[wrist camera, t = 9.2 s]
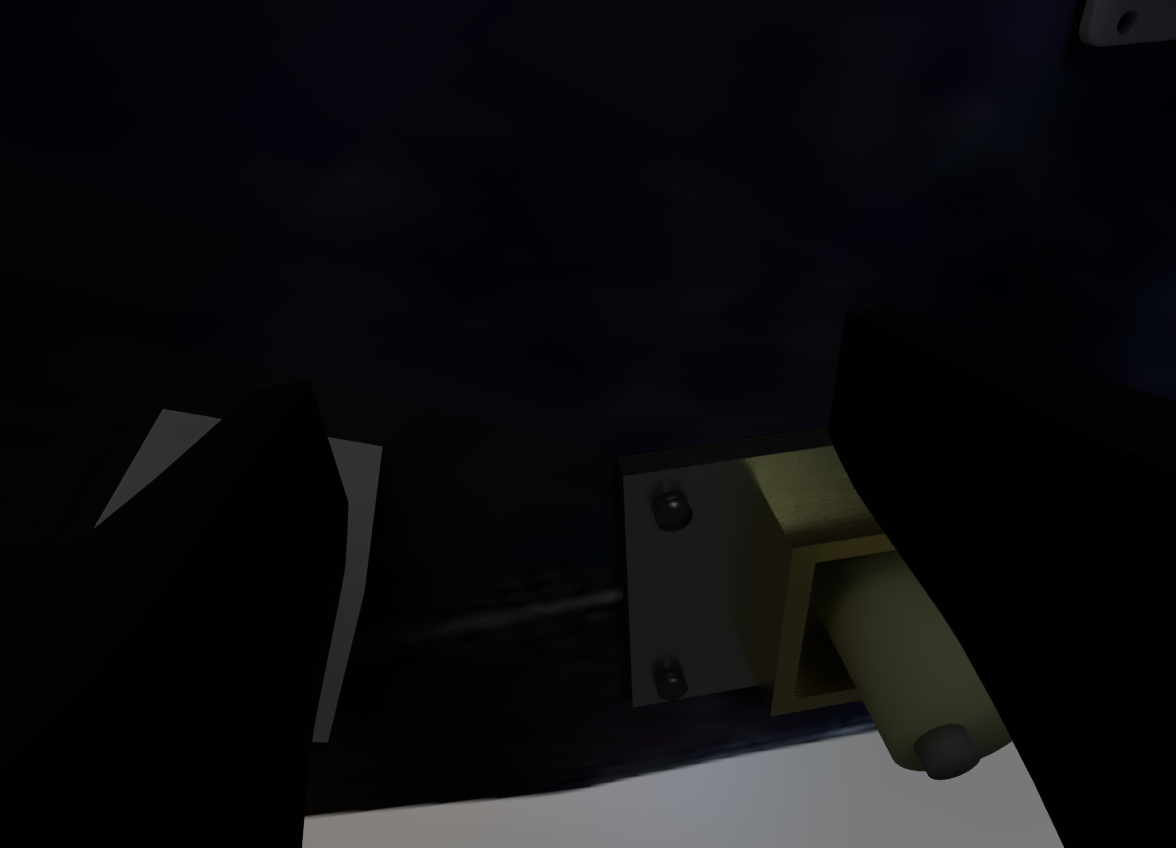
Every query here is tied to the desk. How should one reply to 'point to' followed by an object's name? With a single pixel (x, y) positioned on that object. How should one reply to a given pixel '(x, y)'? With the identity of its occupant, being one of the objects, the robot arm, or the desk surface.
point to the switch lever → (906, 665)
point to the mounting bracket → (737, 568)
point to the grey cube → (360, 486)
